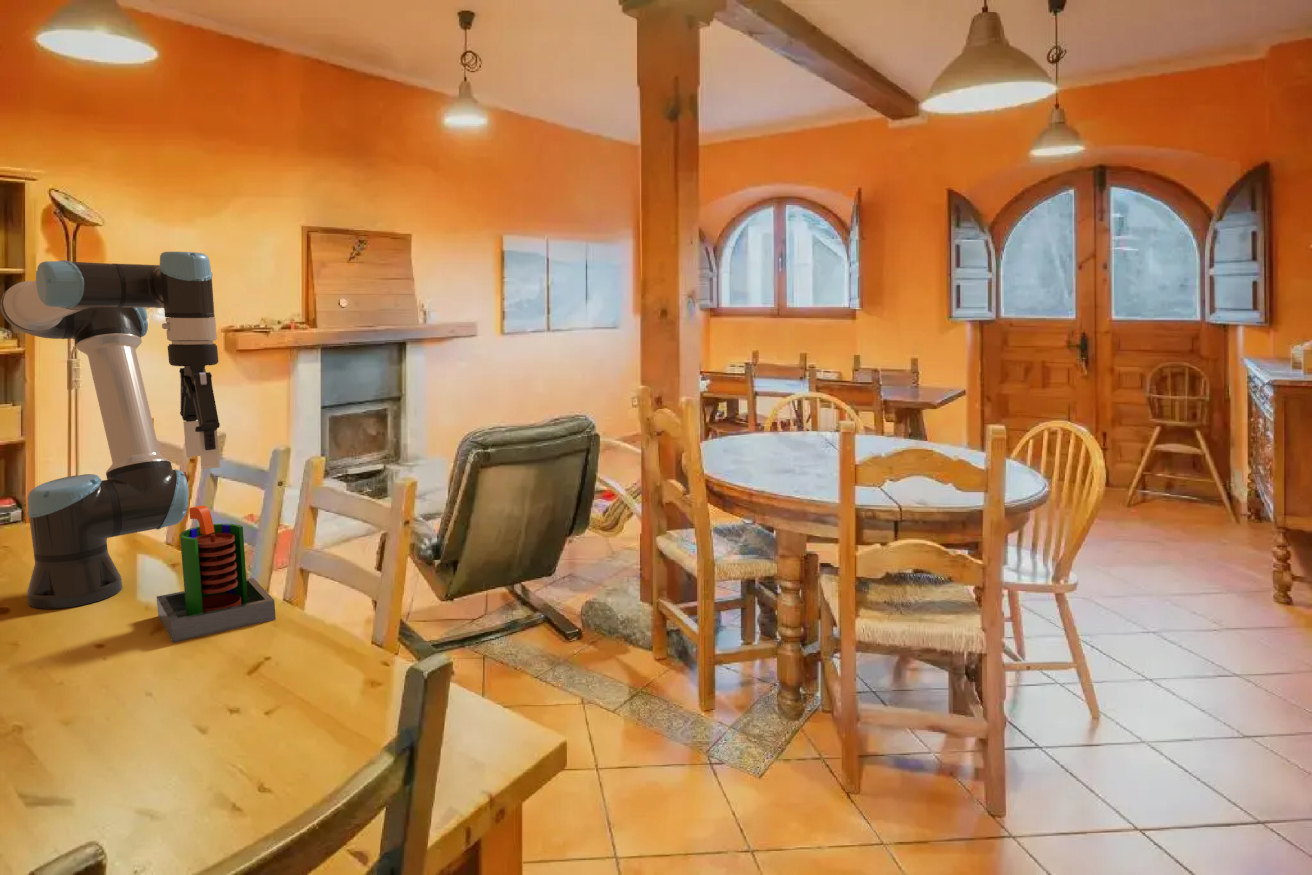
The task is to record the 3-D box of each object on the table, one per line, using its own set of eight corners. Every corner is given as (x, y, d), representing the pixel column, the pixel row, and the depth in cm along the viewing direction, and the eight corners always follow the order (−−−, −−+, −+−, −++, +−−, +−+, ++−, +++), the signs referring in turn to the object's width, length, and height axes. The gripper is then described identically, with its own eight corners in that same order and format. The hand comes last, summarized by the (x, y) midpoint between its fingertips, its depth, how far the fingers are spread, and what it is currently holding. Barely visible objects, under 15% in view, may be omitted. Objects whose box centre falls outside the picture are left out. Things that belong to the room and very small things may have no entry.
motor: (216, 625, 141) (206, 516, 137) (173, 621, 142) (162, 513, 139) (255, 604, 150) (247, 502, 147) (214, 600, 152) (205, 500, 149)
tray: (158, 615, 147) (156, 596, 146) (254, 595, 157) (253, 577, 156) (172, 642, 135) (170, 621, 134) (275, 619, 145) (274, 599, 145)
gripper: (155, 340, 145) (166, 453, 148) (180, 346, 126) (192, 476, 129) (202, 339, 150) (211, 449, 153) (232, 345, 131) (242, 470, 134)
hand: (202, 462), depth 141 cm, fingers open, 13 cm apart
